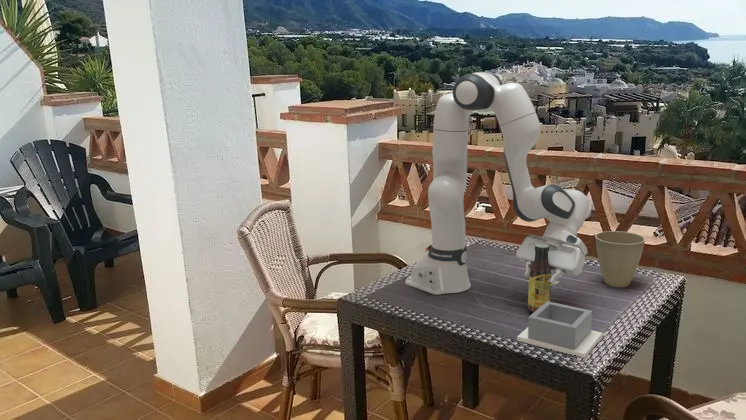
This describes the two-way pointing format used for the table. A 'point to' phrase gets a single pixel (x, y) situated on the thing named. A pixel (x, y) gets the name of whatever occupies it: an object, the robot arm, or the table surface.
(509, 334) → the table surface
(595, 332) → the box
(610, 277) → the plant pot
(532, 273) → the sauce bottle
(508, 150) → the robot arm
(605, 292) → the table surface
